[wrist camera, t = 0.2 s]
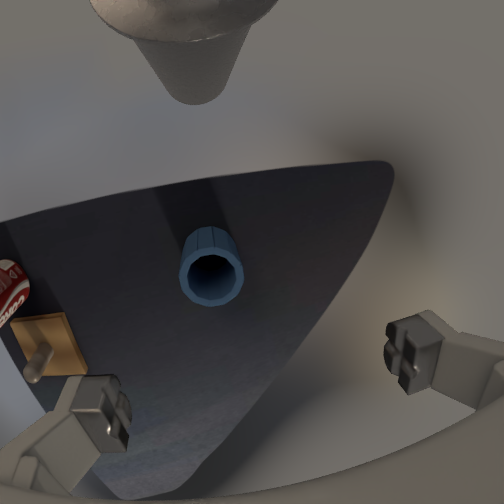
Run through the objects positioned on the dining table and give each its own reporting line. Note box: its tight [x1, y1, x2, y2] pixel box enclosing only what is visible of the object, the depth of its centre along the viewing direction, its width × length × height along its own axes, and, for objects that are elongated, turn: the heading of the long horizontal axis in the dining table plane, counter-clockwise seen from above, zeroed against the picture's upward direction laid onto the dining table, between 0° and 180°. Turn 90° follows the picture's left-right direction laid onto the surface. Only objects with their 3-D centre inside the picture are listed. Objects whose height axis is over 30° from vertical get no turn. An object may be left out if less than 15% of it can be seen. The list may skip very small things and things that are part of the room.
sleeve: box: [179, 226, 244, 307], centre depth 36 cm, size 6×6×8 cm
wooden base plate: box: [10, 312, 88, 383], centre depth 36 cm, size 10×10×9 cm
